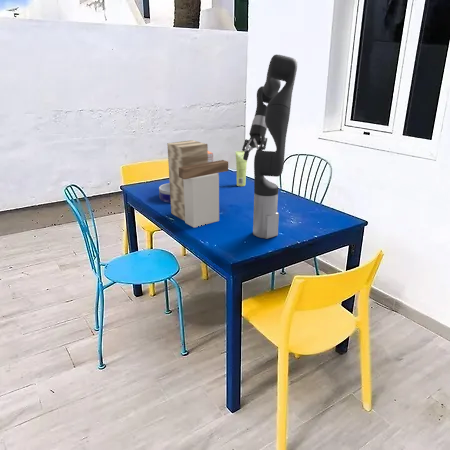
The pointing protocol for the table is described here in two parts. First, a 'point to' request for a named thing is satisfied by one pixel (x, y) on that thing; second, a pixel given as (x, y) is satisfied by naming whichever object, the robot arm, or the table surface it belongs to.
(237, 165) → the tube
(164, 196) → the dog bowl
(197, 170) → the light brown wooden block
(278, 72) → the robot arm
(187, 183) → the white block
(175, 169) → the birch stand
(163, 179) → the table surface
